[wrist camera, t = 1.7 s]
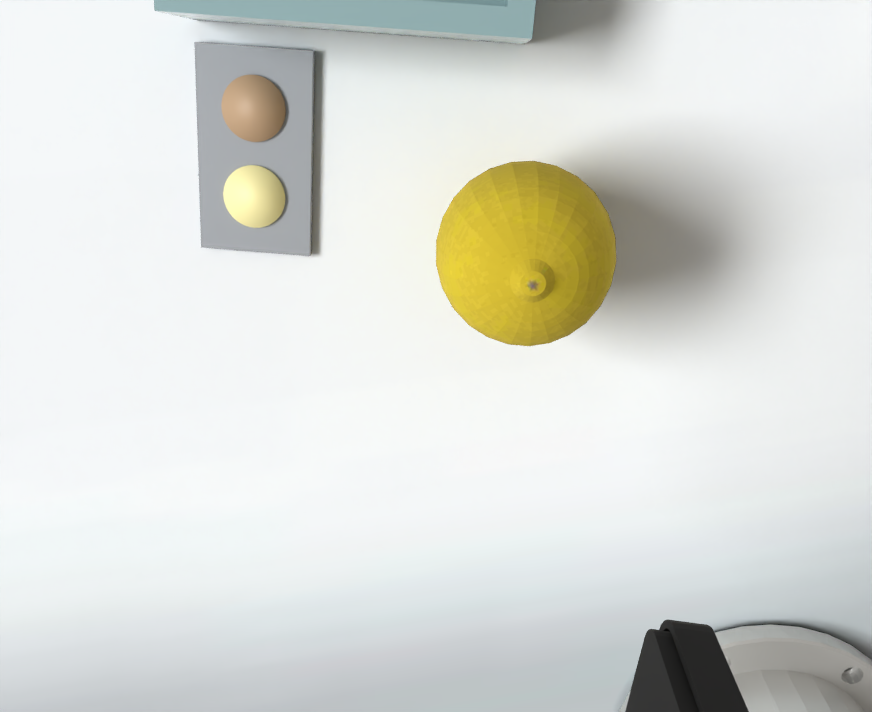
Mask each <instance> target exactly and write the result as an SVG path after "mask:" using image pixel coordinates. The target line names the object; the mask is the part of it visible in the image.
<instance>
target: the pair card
mask: <svg viewBox="0 0 872 712" xmlns="http://www.w3.org/2000/svg"><path fill="white" fill-rule="evenodd" d="M314 53H315V51H310V50H297V49H283V48H270V47H257V46H243V45H230V44H217V43H203V42H195V69H196V100H197V130H198V161H199V192H200V222H201V247H204V248H217V249H229V250H241V251H254V252H266V253H278V254H291V255H303V256H310V255H311V237H312V176H313V115H314Z"/></svg>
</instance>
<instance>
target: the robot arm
mask: <svg viewBox="0 0 872 712" xmlns="http://www.w3.org/2000/svg"><path fill="white" fill-rule="evenodd" d="M619 712H872V660H871V659H870V658H868V657H867V656H865V655H864V654H863V653H861V652H860V651H859V650H857V649H856V648H854V647H853V646H852V645H850V644H848V643H846V642H843V641H841V640H839V639H837V638H835V637H832V636H830V635H828V634H825V633H821V632H817V631H814V630H810V629H806V628H802V627H794V626H783V625H756V626H742V627H737V628H733V629H728V630H724V631H719V632H715V633H714V631H713V629H712V628H711V627H710V626H708V625H704V624H696V623H689V622H681V621H674V620H665V621H664V622H663V623H662V624H661V627H660V629H659V630H654V629H650V630H648V631H647V633H646V636H645V638H644V642H643V646H642V650H641V654H640V657H639V661H638V665H637V669H636V673H635V676H634V680H633V684H632V688H631V690H630V691H629V693H628V695H627V697H626V699H625V701H624V703H623V705H622V707H621V708H620V710H619Z"/></svg>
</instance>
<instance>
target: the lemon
mask: <svg viewBox="0 0 872 712" xmlns="http://www.w3.org/2000/svg"><path fill="white" fill-rule="evenodd" d="M615 265H616V241H615V234H614V231H613V228H612V224H611V221H610V218H609V215H608V213H607V211H606V209H605V208H604V206H603V205H602V203H601V201H600V200H599V198H598V197H597V195H596V194H595V192H594V191H593V190H592V189H591V188H589V187H588V186H587V185H586V184H585V183H584V182H583V181H582V180H581V179H579V178H578V177H577V176H575V175H573V174H571V173H569V172H567V171H565V170H564V169H562V168H560V167H558V166H555V165H550V164H546V163H541V162H536V161H523V162H510V163H507V164H503V165H500V166H497V167H494V168H491V169H488V170H487V171H485V172H484V173H482V174H480V175H479V176H477V177H475V178H474V179H472V180H471V181H469V182H468V183H467V184H466V185H465V186H464V187H463V189H462V190H461V191H460V192H459V193H458V194H457V195H456V196H455V197H454V198H453V200H452V202H451V204H450V205H449V207H448V209H447V211H446V213H445V214H444V216H443V218H442V222H441V225H440V229H439V233H438V236H437V240H436V266H437V270H438V274H439V278H440V282H441V285H442V288H443V290H444V292H445V294H446V296H447V298H448V299H449V301H450V303H451V305H452V307H453V308H454V310H455V311H456V312H457V313H458V314H459V315H460V316H461V317H462V318H463V319H464V320H465V321H466V322H467V324H468V325H470V326H471V327H473V328H474V329H476V330H477V331H479V332H480V333H482V334H484V335H485V336H487V337H489V338H492V339H495V340H498V341H500V342H503V343H506V344H511V345H523V346H533V345H539V344H546V343H551V342H553V341H555V340H558V339H560V338H563V337H565V336H568V335H570V334H571V333H572V332H574V331H575V330H577V329H578V328H579V327H581V326H582V325H584V324H585V323H586V322H587V321H588V320H589V319H590V318H591V316H592V315H593V314H594V313H595V312H596V311H597V309H598V308H599V307H600V306H601V304H602V302H603V300H604V298H605V296H606V294H607V292H608V290H609V288H610V286H611V283H612V279H613V274H614V270H615Z"/></svg>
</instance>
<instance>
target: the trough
mask: <svg viewBox="0 0 872 712" xmlns="http://www.w3.org/2000/svg"><path fill="white" fill-rule="evenodd" d="M535 6H536V0H154V8H155V11H158V12H162V13H167V14H172V15H176V16H181V17H185V18H190V19H194V20H205V21H219V22H232V23H245V24H259V25H272V26H286V27H299V28H312V29H326V30H339V31H353V32H366V33H380V34H393V35H406V36H420V37H433V38H447V39H460V40H474V41H487V42H500V43H514V44H526V43H527V42H528V41H530V40H531V39H532V34H533V25H534V15H535Z"/></svg>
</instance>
